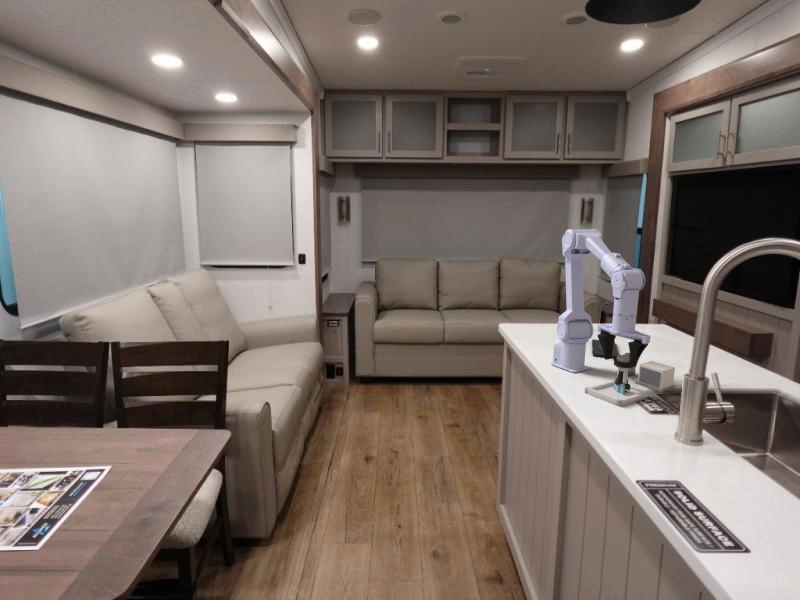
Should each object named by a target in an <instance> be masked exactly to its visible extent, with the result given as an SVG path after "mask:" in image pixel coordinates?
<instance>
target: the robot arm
mask: <svg viewBox="0 0 800 600" xmlns="http://www.w3.org/2000/svg"><path fill="white" fill-rule="evenodd" d="M561 243H562V244H561V245H562V247H561V248H562V249H561V250H562V256H563V257H564V258H565V260H564V263H565V267H564V268H565V294H566V296H565V297H566V300H565V301H566V302H565V303H566V310H565V311H564V312H563V313H562V314H560V315H559V317H558V322H557V326H556V334H557V337H558V338H557V339H556V340H555V342H554V344H553V355H552V362H551V363H550V365H551V366H553V367H557V368H559V369H561V370H562V369H563V370H566V371H568V372H570V373H574V374H575V373H579V372H582V371H587V370H589V369H591V367H590V366H588V365H585V364H586V363H585V361H586V348H587V343H588V342H589V341H590V339H591V338H592V337H593V335H594V325H593V321H592V316H591V315H590V314H589V313H588V312H586V311H585V302H584V301H585V299H584V296H585V295H584V268H583V267H584V265H583V264H584V263H583V261H584V260H585V259H586V257H589V256H590V255H591V254H593V256H594V257H596V258H597V259H598V260H599V261H600V268H601V269H602V270H603V272H604V273H606V275H607V276H608V277H609V278H610V281H611V282H610V283H611V287H612V296H613V297H614V300H613V302H614V303H613V312H612V321H611V322H612V323H611V325H610V324H605V323H604V324H603V323H601V324H598V325H597V329H596V330H597V333H598V334H597V338H598V339H597V340H600V343H601V345H602V349H603V353H604V358H603V359H604V360H606V361H608V360H611V357H612V350H613V344H614V342H615V340H616V337H620V338H624V339H627V340H632V341H629V342H627V345H628V349H629V351H628V352H629V353H630V358H629V367H631V368H633V367H636V368H637V365H638V362H639V360H640V358H641V356H642V354H643V353H644V351H645V349H647V347H648V346H649V344H650V343H651V337H652V336H651V335H649V334H646V333H643V332H640V331H638V330H636V324H637V314H638V303H639V295H640V291H642V290H643V289H644V287H645V285H646V275H645V273H644V272H643V270H642V269H640V268H635V267H632V266H631V265H630V264H629V263H628V262H627V261H626V260H625V259H624V258H623V257H622V255H621V254H620V253H619V252H618V253H617V252H611V250H610V248H608V246H607V245H606V244H605V242H604V241H603V234H602V233H601V232H600V231H599V229H596V228H593V229H571V228H568V229H567V230H566V231H565V233H564V234H563V236H562V238H561Z"/></svg>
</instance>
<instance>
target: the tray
mask: <svg viewBox="0 0 800 600" xmlns="http://www.w3.org/2000/svg"><path fill="white" fill-rule="evenodd" d="M614 380H615V379H612V380H609V381H605V382H601V383H598V384H594V385H590V386H586V387H584V394H587V395H590V396H591V397H594V398H596V399H599V400H602V401H603V402H606V403H610V404H612V405H615V406H617V407H623V406H626V405H630V404H633V403H637V402H639V401H642V400H645V399H648V398H647V397H649V396H650V397H651V391H649V390H646V389H643V388H640V387H637V386H634V385H632V384H630V391H631V392H629V394H630V395H627V394H621V393H619V392H618V391H615V389H614ZM650 397H649V398H650ZM644 398H645V399H644Z"/></svg>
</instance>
